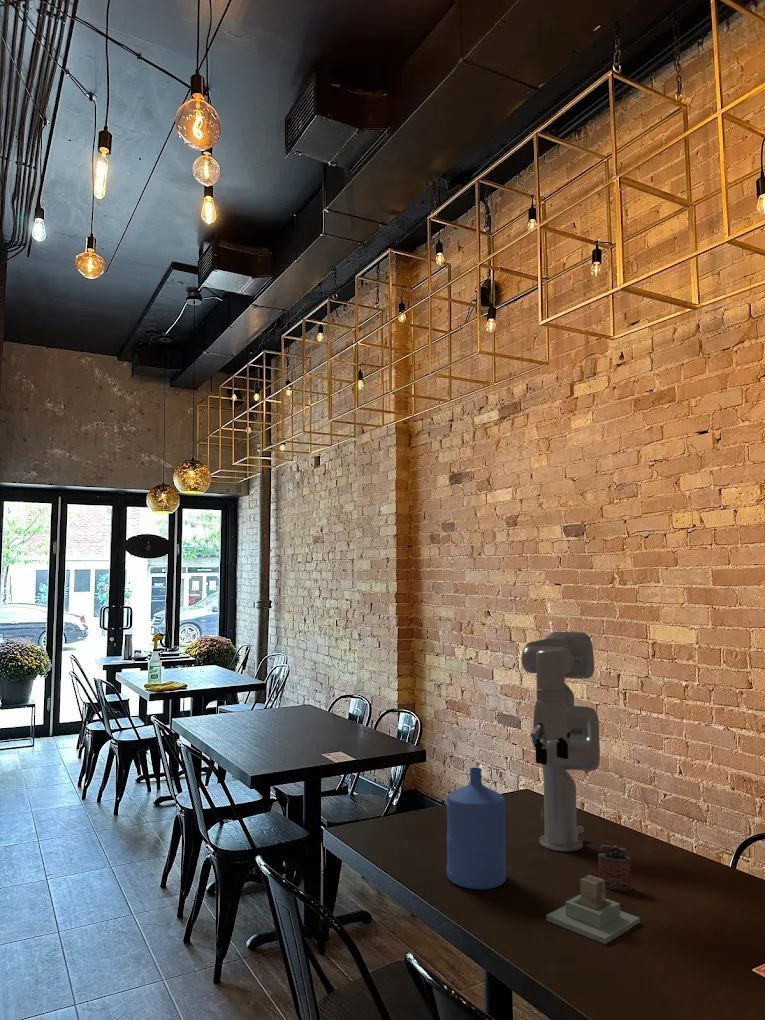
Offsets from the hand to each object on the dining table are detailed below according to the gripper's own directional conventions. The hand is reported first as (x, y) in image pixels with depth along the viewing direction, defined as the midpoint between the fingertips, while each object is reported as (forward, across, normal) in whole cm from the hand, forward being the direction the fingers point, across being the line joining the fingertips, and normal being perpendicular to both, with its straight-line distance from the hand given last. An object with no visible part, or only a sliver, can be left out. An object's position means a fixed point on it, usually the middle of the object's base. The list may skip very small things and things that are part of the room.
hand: (552, 760), depth 191 cm
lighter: (+31, -8, +13) cm, 34 cm away
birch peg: (+29, +14, +20) cm, 38 cm away
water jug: (+31, +15, -14) cm, 37 cm away
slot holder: (+30, +14, +20) cm, 39 cm away
